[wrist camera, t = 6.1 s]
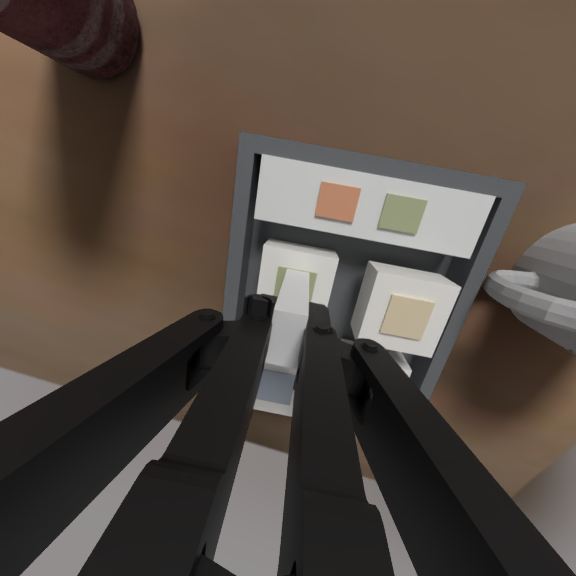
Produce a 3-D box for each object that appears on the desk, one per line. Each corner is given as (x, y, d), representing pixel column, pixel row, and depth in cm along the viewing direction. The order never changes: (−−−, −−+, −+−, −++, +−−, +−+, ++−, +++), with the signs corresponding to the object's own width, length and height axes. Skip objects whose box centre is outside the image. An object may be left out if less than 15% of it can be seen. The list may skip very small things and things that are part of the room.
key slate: (246, 381, 23) (237, 408, 20) (253, 330, 21) (245, 352, 18) (303, 392, 23) (302, 421, 20) (315, 342, 21) (316, 366, 18)
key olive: (260, 298, 22) (253, 314, 19) (269, 238, 20) (263, 245, 17) (321, 310, 21) (322, 327, 19) (335, 250, 20) (339, 259, 17)
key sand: (350, 323, 20) (356, 344, 17) (368, 260, 18) (378, 272, 16) (415, 336, 20) (432, 359, 17) (439, 273, 18) (463, 288, 15)
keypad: (225, 373, 25) (212, 399, 22) (250, 140, 18) (238, 129, 15) (401, 408, 25) (414, 440, 22) (493, 184, 18) (532, 182, 15)
